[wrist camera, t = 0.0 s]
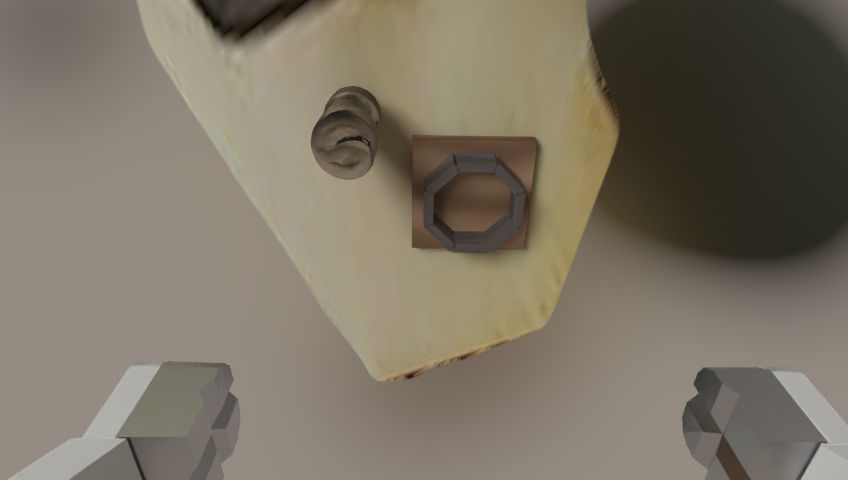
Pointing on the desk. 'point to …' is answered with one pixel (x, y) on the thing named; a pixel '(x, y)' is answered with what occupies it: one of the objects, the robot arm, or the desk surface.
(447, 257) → the desk surface
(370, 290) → the desk surface
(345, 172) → the light bulb
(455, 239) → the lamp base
